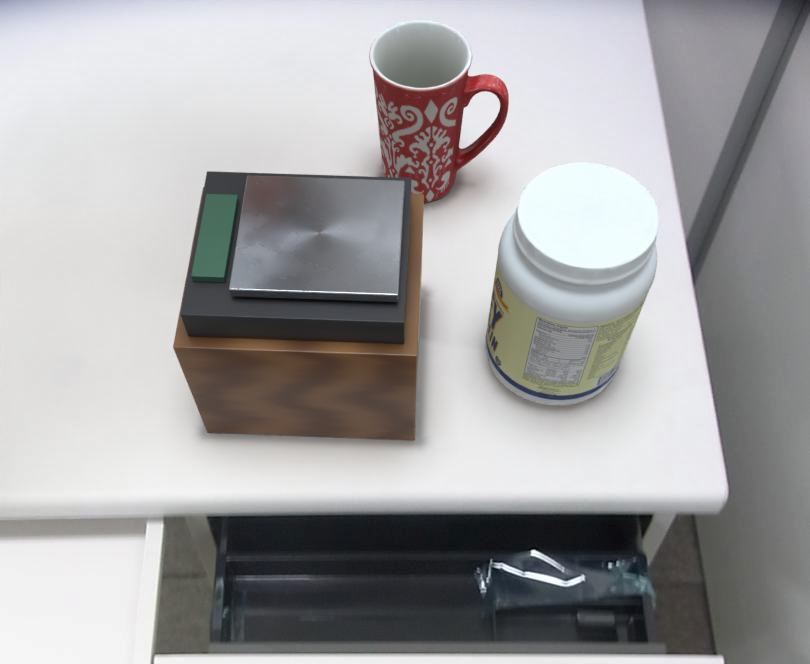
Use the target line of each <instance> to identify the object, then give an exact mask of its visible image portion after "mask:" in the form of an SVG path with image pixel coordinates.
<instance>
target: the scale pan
mask: <svg viewBox="0 0 810 664" xmlns="http://www.w3.org/2000/svg"><path fill="white" fill-rule="evenodd" d="M403 205H404V181H397V180H367V179H336V178H306V177H275V176H247V180H246V186H245V192H244V198H243V204H242V211H241V217H240V223H239V229H238V236H237V242H236V248H235V254H234V261H233V267H232V273H231V279H230V286H229V291H230V295H231V296H237V297H266V298H295V299H324V300H353V301H382V302H398V296H399V278H400V260H401V242H402V223H403Z"/></svg>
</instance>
